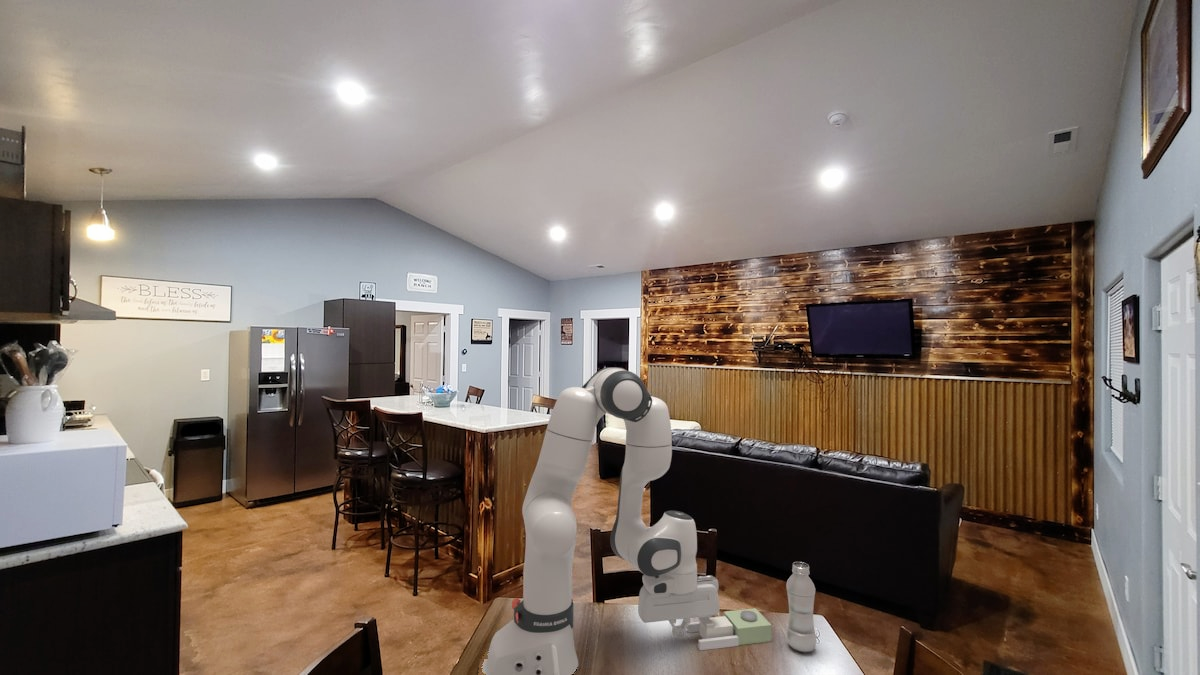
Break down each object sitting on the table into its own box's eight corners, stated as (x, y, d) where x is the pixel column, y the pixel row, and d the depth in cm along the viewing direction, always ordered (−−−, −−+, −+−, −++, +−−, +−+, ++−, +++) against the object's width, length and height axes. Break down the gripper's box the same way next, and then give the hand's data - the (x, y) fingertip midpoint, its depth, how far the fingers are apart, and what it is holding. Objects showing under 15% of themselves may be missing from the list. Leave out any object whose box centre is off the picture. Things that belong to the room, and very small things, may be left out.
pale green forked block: (699, 650, 119) (699, 630, 119) (686, 630, 127) (686, 611, 127) (772, 641, 123) (772, 622, 123) (754, 623, 131) (754, 604, 131)
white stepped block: (706, 645, 121) (706, 625, 121) (699, 634, 126) (699, 615, 126) (733, 642, 123) (733, 622, 123) (725, 631, 127) (725, 612, 127)
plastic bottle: (819, 658, 116) (818, 572, 117) (788, 654, 117) (788, 569, 118) (813, 642, 122) (812, 560, 123) (784, 638, 124) (784, 558, 124)
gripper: (713, 569, 128) (713, 623, 127) (636, 576, 124) (636, 632, 123) (723, 580, 121) (723, 637, 121) (643, 588, 117) (643, 647, 117)
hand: (679, 634), depth 122 cm, fingers closed
